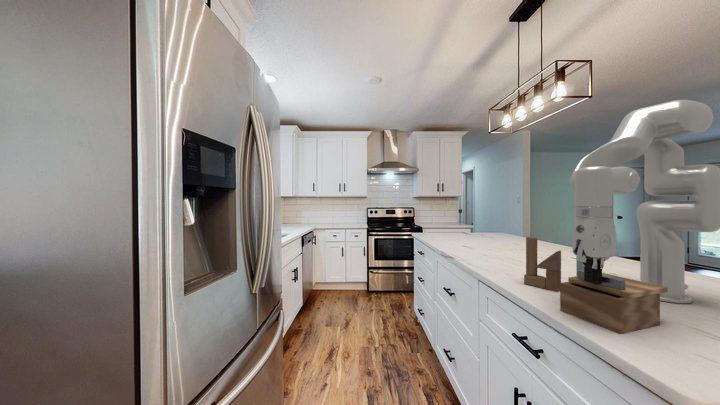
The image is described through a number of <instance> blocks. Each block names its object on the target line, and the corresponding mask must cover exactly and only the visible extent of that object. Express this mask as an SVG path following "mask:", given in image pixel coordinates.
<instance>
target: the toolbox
mask: <svg viewBox="0 0 720 405" xmlns="http://www.w3.org/2000/svg"><path fill="white" fill-rule="evenodd" d="M559 310H560V312H563V313H566V314H569V315H571V316H573V317H576V318H579V319H581V320H583V321H586V322H588V323H592V324H594V325H596V326H599V327H602V328H605V329H607V330H609V331H612V332H615V333H617V334H620V335H622V334H623V335H624V334H626V333H631V332H635V331H640V330H644V329H648V328H653V327H658V326H660V323H661V301H660V294H653V295H647V296H641V297H635V298H630V299H629V298H626V297H622V296H619V295H615V294H611V293H608V292H604V291H601V290H597V289H594V288H590V287H586V286H583V285H579V284H576V283H572V282H569V281H564V282H561V283H560V291H559Z"/></svg>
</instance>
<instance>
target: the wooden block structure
mask: <svg viewBox="0 0 720 405" xmlns="http://www.w3.org/2000/svg"><path fill="white" fill-rule="evenodd" d="M538 269H542V270H545V276H543V275H538ZM561 270H562V250H557V251H555V252H554V253H552V254H551V255H550V256H548V257H547V258H546V259H544V260H543V261H540V262H539V263H538V237H537V236H526V237H525V274H523V284H524V285H527V286H532V287H537V288H540V289H544V290H545V289H546V291H547V290H549V291H552V292H556V293H557V292H560V283H562V271H561Z"/></svg>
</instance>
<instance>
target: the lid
mask: <svg viewBox="0 0 720 405" xmlns="http://www.w3.org/2000/svg"><path fill="white" fill-rule="evenodd" d="M567 282H572V283H576V284H579V285H583V286H586V287H590V288H594V289H597V290H601V291H604V292H608V293H611V294H615V295H619V296H622V297H626V298H629V299H630V298H635V297H641V296H647V295H653V294H659V293H665V292H668V287H664V286H659V285H655V284H650V283H646V282H642V281H640V280H636V279H632V278H627V277H623V276H618V275H614V274H610V273H605V272H602V284H593V283H589V282H585V281H584V271H583V270H579V271H577V276H575V275H574V276H569V277H568V280H567Z"/></svg>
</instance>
